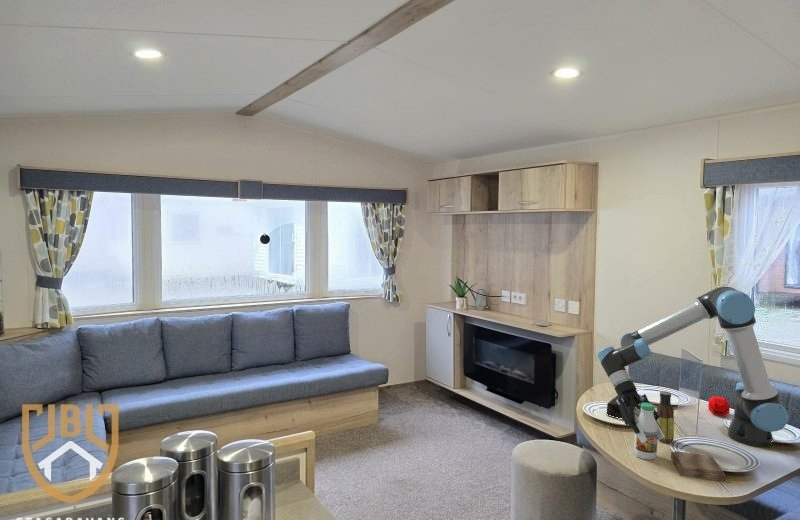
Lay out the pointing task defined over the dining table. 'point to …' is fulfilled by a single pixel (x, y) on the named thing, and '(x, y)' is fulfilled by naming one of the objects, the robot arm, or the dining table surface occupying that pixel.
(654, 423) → the milk bottle
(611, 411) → the dark brown block
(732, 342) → the robot arm
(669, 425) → the sauce bottle
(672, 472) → the dining table surface
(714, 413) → the ball
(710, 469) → the podium
